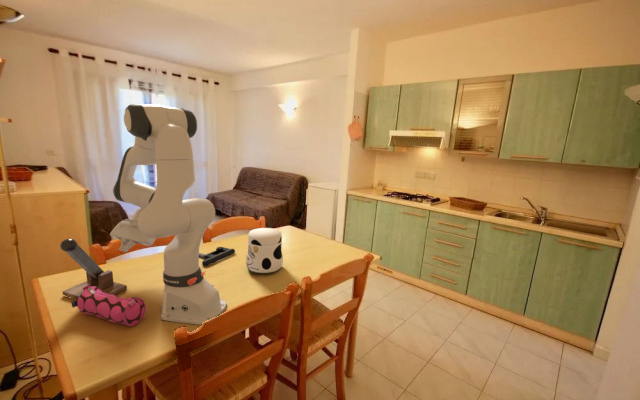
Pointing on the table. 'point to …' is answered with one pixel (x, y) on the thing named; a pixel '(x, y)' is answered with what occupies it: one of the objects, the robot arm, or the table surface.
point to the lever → (81, 258)
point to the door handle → (214, 257)
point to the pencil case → (110, 306)
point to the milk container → (264, 250)
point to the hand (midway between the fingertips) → (122, 251)
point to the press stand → (97, 285)
